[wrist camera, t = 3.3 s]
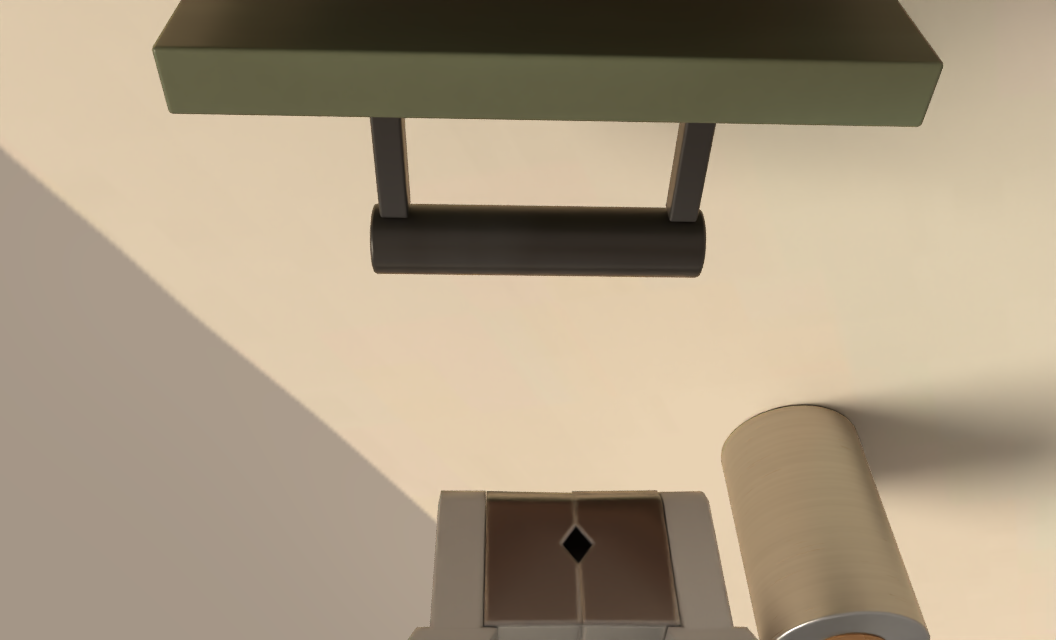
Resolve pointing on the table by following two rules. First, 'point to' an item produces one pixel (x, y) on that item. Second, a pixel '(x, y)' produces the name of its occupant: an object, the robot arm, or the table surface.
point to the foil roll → (815, 531)
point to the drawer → (548, 100)
